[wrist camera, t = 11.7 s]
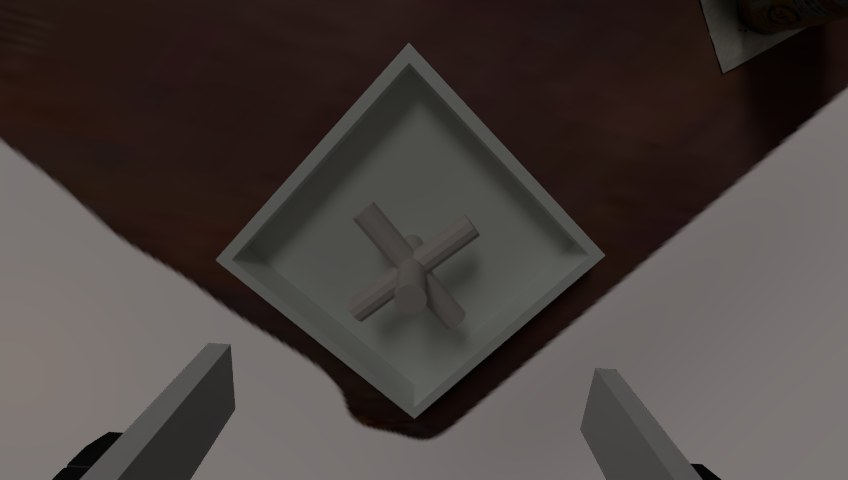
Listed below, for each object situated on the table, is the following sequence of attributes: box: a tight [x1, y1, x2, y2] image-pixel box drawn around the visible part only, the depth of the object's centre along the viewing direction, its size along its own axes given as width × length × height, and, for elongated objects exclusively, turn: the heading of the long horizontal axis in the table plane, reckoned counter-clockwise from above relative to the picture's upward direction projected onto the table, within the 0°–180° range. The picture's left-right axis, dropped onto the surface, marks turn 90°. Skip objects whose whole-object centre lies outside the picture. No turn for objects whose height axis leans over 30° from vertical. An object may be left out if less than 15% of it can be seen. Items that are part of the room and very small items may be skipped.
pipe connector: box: [347, 202, 480, 329], centre depth 26 cm, size 10×10×10 cm
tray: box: [216, 43, 605, 419], centre depth 30 cm, size 20×20×4 cm
